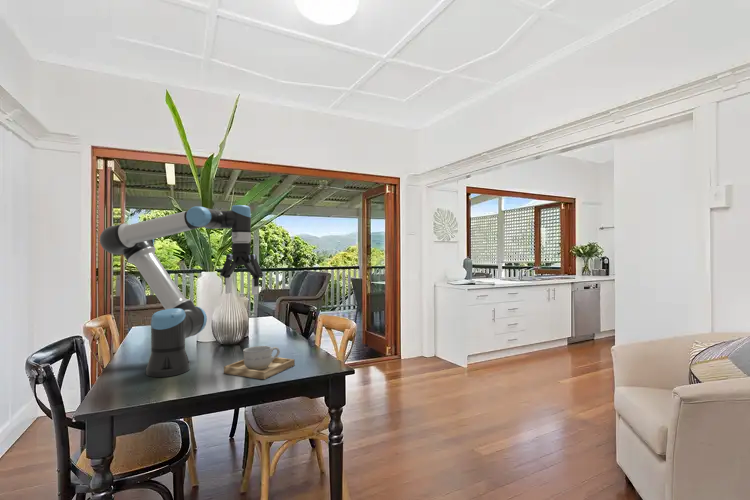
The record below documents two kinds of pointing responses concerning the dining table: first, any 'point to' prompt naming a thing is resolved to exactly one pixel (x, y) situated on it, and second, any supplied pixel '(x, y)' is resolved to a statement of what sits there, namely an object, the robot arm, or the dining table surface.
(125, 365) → the dining table surface
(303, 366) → the dining table surface
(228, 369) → the serving tray
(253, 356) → the teacup
